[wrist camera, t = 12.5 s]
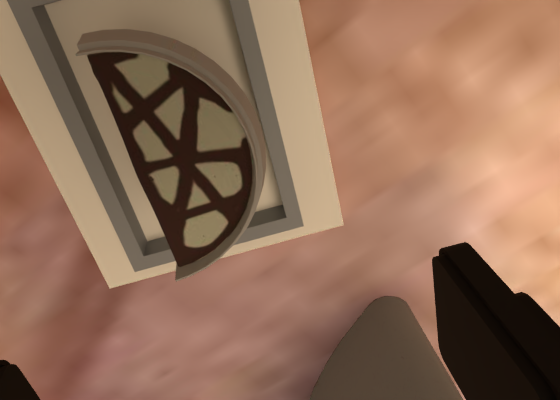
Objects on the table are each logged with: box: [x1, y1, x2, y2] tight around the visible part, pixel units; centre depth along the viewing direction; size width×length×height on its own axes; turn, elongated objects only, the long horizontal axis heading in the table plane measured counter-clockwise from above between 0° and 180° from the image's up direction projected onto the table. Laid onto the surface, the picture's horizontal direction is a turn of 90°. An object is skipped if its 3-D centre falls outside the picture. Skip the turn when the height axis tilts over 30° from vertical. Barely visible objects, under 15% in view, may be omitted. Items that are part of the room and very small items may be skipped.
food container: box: [75, 29, 266, 281], centre depth 25 cm, size 12×6×10 cm, turn 14°
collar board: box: [0, 0, 344, 288], centre depth 29 cm, size 22×18×3 cm
